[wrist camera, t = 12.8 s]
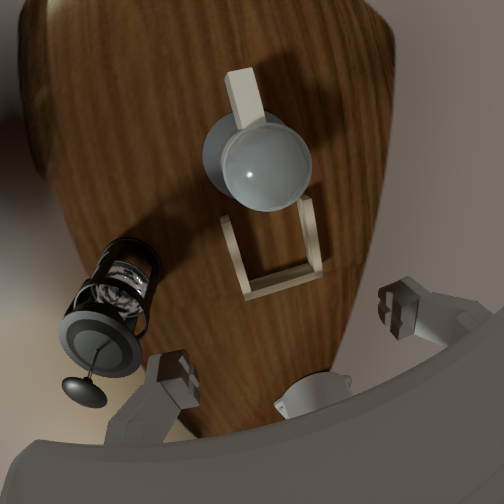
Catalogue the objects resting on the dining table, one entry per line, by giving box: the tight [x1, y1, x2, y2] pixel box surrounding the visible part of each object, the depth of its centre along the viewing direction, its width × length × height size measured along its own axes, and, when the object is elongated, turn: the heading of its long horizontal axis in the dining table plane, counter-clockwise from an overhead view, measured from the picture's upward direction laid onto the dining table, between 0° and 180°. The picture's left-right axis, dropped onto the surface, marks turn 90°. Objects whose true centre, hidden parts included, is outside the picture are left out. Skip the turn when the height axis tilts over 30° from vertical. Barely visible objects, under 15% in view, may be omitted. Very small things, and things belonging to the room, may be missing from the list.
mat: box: [203, 111, 287, 198], centre depth 34 cm, size 12×12×1 cm
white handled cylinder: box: [219, 68, 312, 211], centre depth 28 cm, size 14×8×10 cm, turn 14°
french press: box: [58, 237, 162, 408], centre depth 27 cm, size 12×9×23 cm
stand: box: [220, 193, 323, 301], centre depth 38 cm, size 12×12×3 cm
